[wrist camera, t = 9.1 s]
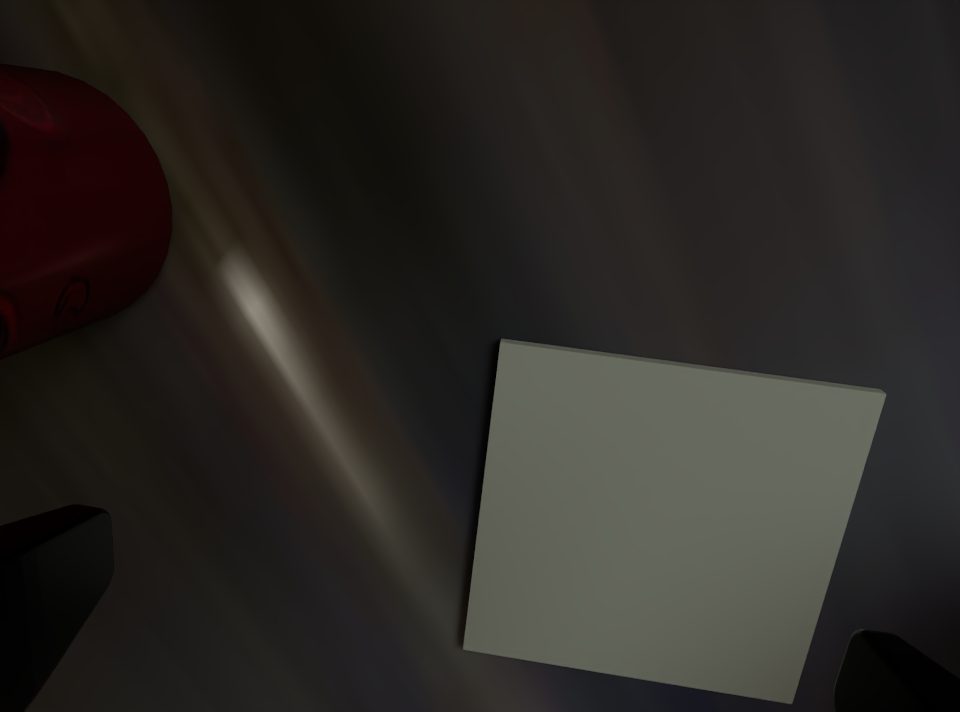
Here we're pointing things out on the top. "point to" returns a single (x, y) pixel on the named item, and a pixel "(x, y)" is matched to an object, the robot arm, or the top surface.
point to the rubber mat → (662, 516)
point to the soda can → (73, 208)
